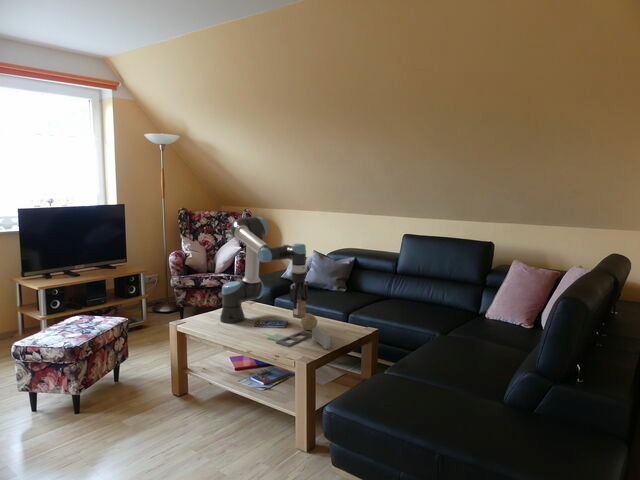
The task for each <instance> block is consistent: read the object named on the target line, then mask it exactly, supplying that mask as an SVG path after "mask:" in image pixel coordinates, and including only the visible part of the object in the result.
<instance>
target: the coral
mask: <svg viewBox="0 0 640 480" xmlns="http://www.w3.org/2000/svg"><path fill="white" fill-rule="evenodd" d="M300 323H301V326H303V328H304V329H305V331H312V329H313V328H314V327H318V326H317V325H318V319H317V318H316V316H315V315H314V314H312V313H310V312H306V317H304V318H301V319H300Z"/></svg>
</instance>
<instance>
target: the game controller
mask: <svg viewBox="0 0 640 480" xmlns="http://www.w3.org/2000/svg"><path fill="white" fill-rule="evenodd" d="M311 333H312V340H313V342H315V343H318V344H320V345H321V346H322V348H323V349H324V348H325V349H324V350H328V349H330V348H331V344H332V341H331V337H330V335H329V334H328V332H326V331H324V330H323V329H321V328H320V327H319V326H316V327H314V328H313V329H312V330H311Z"/></svg>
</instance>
